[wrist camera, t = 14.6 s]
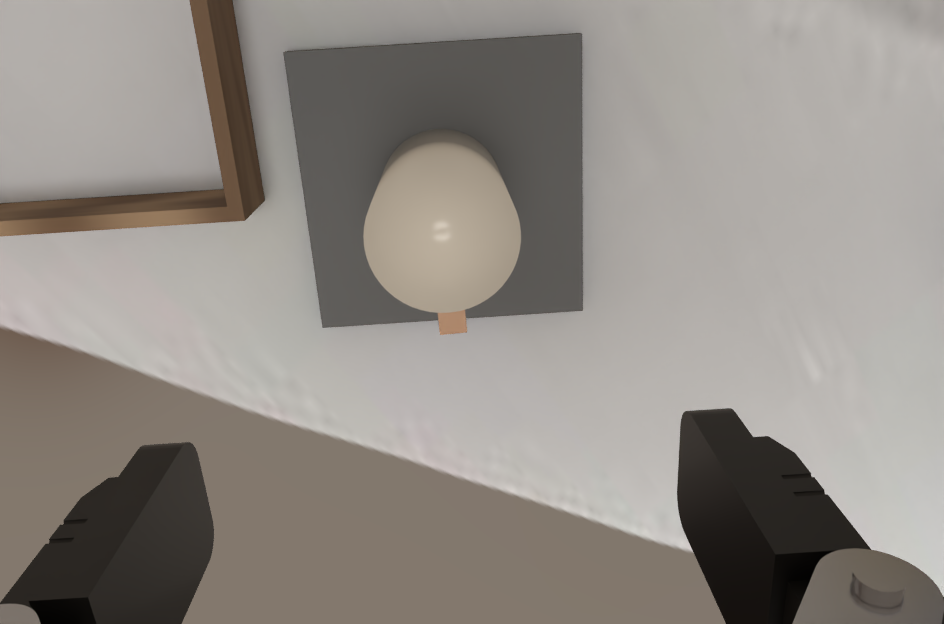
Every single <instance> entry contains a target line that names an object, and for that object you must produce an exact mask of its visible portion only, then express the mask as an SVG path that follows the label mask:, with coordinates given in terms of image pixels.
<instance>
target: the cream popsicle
mask: <svg viewBox="0 0 944 624" xmlns="http://www.w3.org/2000/svg"><path fill="white" fill-rule="evenodd" d="M363 238H364V249H365V253H366V257H367V260H368V263H369V266H370V268H371V270H372V272H373V274H374V275H375V277H376V278H377V280H378V281H379V283H380V284H381V285H382V286H383V287H384V288H385V289H386V290H387V291H388V292H389V293H390V294H391V295H392V296H394V297H395V298H396V299H398V300H400V301H401V302H403V303H405V304H407V305H409V306H411V307H413V308H416V309H419V310H423V311H428V312H435V313H438V321H439V330H440V335H444V334H454V333H464V332H467V325H466V315H465V309H469V308H471V307H474V306H476V305H478V304H480V303H482V302H484V301H485V300H487V299H488V298H490V297H491V296H492V295H494V294H495V293H496V292H497V291H498V290H499V289H500V288H501V287H502V286H503V285H504V283H505V282H506V281H507V279H508V278H509V276H510V275H511V273H512V271H513V269H514V267H515V265H516V262H517V259H518V255H519V252H520V245H521V229H520V222H519V218H518V214H517V211H516V209H515V207H514V204H513V202H512V200H511V197H510V195H509V193H508V190H507V188H506V186H505V183H504V181H503V179H502V176H501V174H500V172H499V169H498V167H497V165H496V162H495V161H494V159H493V157H492V155H491V154H490V153H489V152H488V150H487V149H486V148H485V147H484V146H483V145H482V144H481V143H479V142H478V141H477V140H475V139H474V138H472V137H470V136H469V135H467V134H464V133H462V132H459V131H455V130H450V129H433V130H427V131H424V132H420V133H418V134H416V135H414V136H412V137H410V138H408V139H407V140H405V141H404V142H403V143H402V144H401V145H399V146H398V147H397V149H396V150H395V151H394V152H393V153H392V155H391V156H390V158H389V160H388V162H387V164H386V166H385V168H384V171H383V173H382V176H381V179H380V181H379V184H378V186H377V189H376V191H375V194H374V196H373V199H372V202H371V204H370V207H369V210H368V213H367V215H366V219H365V224H364V235H363Z"/></svg>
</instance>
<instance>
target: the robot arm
mask: <svg viewBox="0 0 944 624" xmlns="http://www.w3.org/2000/svg"><path fill="white" fill-rule="evenodd" d="M677 499H678V509H679V515H680V520H681V524H682V527H683V530H684V532H685V534H686V537H687V539H688V541H689V543H690V545H691V548H692V550H693V552H694V554H695V556H696V559H697V561H698V563H699V565H700V567H701V569H702V572H703V574H704V576H705V578H706V581H707V583H708V585H709V587H710V589H711V592H712V594H713V596H714V598H715V600H716V603H717V605H718V607H719V609H720V611H721V613H722V616H723V618H724V620H725V622H726V624H944V597H943V595H942V593H941V592H940V590H939V588H938V587H937V585H936V584H935V583H934V582H933V580H932V579H930V578H929V577H928V576H927V575H926V574H925V573H924V572H922V571H921V570H920V569H918V568H917V567H915V566H913V565H912V564H910V563H908V562H906V561H904V560H902V559H900V558H898V557H895V556H892V555H889V554H886V553H883V552H879V551H874V550H871V549H870V547H869V546H868V545H867V544H866V542H865V541H864V540H863V539H862V537H861V536H860V535H859V534H858V532H857V531H856V530H855V528H854V527H853V526H852V525H851V523H850V522H849V521H848V520H847V518H846V517H845V516H844V515H843V513H842V512H841V511H840V509H839V508H838V507H837V506H836V504H835V503H834V502H833V501H832V499H831V498H830V497H829V496H828V495H825V493H824V489H823V488H822V487H821V485H820V484H819V483H818V482H817V480H816V479H815V478H814V477H811V473H810V472H809V470H808V469H807V468H806V466H805V465H804V464H803V463H802V461H801V460H800V459H799V458H798V456H797V455H796V454H795V453H794V452H792V451H791V450H789V449H788V448H786V447H784V446H783V445H781V444H780V443H778V442H776V441H775V440H773V439H772V438H770V437H768V436H765V437H753V436H752V435H751V433H750V432H749V431H748V429H747V428H746V427H745V425H744V424H743V422H742V421H741V420H740V418H739V417H738V415H737V414H736V413H735V411H734V410H732V409H730V408H727V409H712V410H696V411H685V412H684V413H683V415H682V419H681V427H680V447H679V467H678V487H677ZM213 539H214V528H213V520H212V515H211V511H210V506H209V502H208V497H207V493H206V488H205V484H204V480H203V475H202V471H201V466H200V462H199V458H198V454H197V451H196V448H195V447H194V445H193V444H191V443H190V442H185V443H170V444H154V445H144V446H141V447H140V448H139V449H138V451H137V452H136V453H135V455H134V456H133V457H132V459H131V460H130V461H129V463H128V464H127V466H126V467H125V469H124V470H123V471H122V473H121V474H120V475H119V477H115V478H108V479H106V480H105V481H104V482H102V483H101V484H100V485H98V486H97V487H95V488H94V489H93V490H91V491H90V492H89V493H87V494H86V495H84V496H83V497H82V498H81V499H80V500H79V501H78V502H77V504H76V505H75V506H74V508H73V509H72V510H71V512H70V513H69V514H68V516H67V517H66V518H65V519H64V524H63V525H60V526H59V527H58V529H57V530H56V531H55V532H54V534H53V535H52V536H51V538H50V539H49V540H50V542H49V544H45V545H44V547H43V548H42V549H41V550H40V552H39V553H38V555H37V556H36V557H35V558H34V560H33V561H32V562H31V563H30V565H29V566H28V567H27V569H26V570H25V571H24V573H23V574H22V575H21V577H20V578H19V579H18V581H17V582H16V583H15V584H14V586H13V587H12V588H11V589H10V591H9V592H8V594H7V595H6V596H5V597H4V599H3V600H2V601H1V603H0V624H182V621H183V619H184V617H185V615H186V612H187V610H188V608H189V606H190V604H191V601H192V599H193V597H194V595H195V592H196V590H197V588H198V586H199V583H200V581H201V579H202V577H203V574H204V572H205V570H206V568H207V565H208V563H209V561H210V558H211V554H212V549H213V541H214V540H213Z"/></svg>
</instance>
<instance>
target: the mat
mask: <svg viewBox="0 0 944 624" xmlns="http://www.w3.org/2000/svg"><path fill="white" fill-rule="evenodd" d="M283 53H284V60H285V67H286V74H287V81H288V88H289V95H290V102H291V109H292V116H293V123H294V130H295V137H296V144H297V151H298V158H299V165H300V172H301V179H302V186H303V193H304V200H305V207H306V214H307V221H308V228H309V235H310V242H311V249H312V256H313V263H314V270H315V277H316V284H317V291H318V298H319V305H320V312H321V319H322V326H323V328H327V327H342V326H357V325H372V324H387V323H403V322H418V321H433V320H438V313H435V312H428V311H423V310H419V309H416V308H413V307H411V306H409V305H407V304H405V303H403V302H401V301H400V300H398V299H396V298H395V297H394V296H392V295H391V294H390V293H389V292H388V291H387V290H386V289H385V288H384V287H383V286H382V285H381V284H380V283H379V281H378V280H377V278H376V277H375V275H374V274H373V272H372V270H371V268H370V266H369V263H368V260H367V257H366V253H365V249H364V238H363V235H364V224H365V219H366V215H367V213H368V210H369V207H370V204H371V202H372V199H373V196H374V194H375V191H376V189H377V186H378V184H379V181H380V179H381V176H382V173H383V171H384V168H385V166H386V164H387V162H388V160H389V158H390V156H391V155H392V153H393V152H394V151H395V150H396V149H397V147H398V146H399V145H401V144H402V143H403V142H404V141H405V140H407V139H408V138H410V137H412V136H414V135H416V134H418V133H420V132H424V131H427V130H433V129H450V130H455V131H459V132H462V133H464V134H467V135H469V136H470V137H472V138H474V139H475V140H477V141H478V142H479V143H481V144H482V145H483V146H484V147H485V148H486V149H487V150H488V152H489V153H490V154H491V155H492V157H493V159H494V161H495V162H496V165H497V167H498V169H499V172H500V174H501V176H502V179H503V181H504V183H505V186H506V188H507V190H508V193H509V195H510V197H511V200H512V202H513V204H514V207H515V209H516V211H517V214H518V218H519V222H520V229H521V245H520V252H519V255H518V259H517V262H516V265H515V267H514V269H513V271H512V273H511V275H510V276H509V278H508V279H507V281H506V282H505V283H504V285H503V286H502V287H501V288H500V289H499V290H498V291H497V292H496V293H495V294H494V295H492V296H491V297H490V298H488V299H487V300H485V301H484V302H482V303H480V304H478V305H476V306H474V307H471V308H469V309H465V315H466V318H479V317H494V316H509V315H524V314H539V313H555V312H570V311H583V254H582V34H580V33H575V34H559V35H543V36H527V37H511V38H494V39H478V40H462V41H446V42H430V43H414V44H398V45H381V46H365V47H349V48H333V49H317V50H301V51H287V52H283Z"/></svg>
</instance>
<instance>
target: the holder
mask: <svg viewBox="0 0 944 624" xmlns="http://www.w3.org/2000/svg"><path fill="white" fill-rule="evenodd" d="M190 5H191V11H192V16H193V22H194V27H195V33H196V38H197V44H198V49H199V55H200V60H201V66H202V71H203V77H204V82H205V88H206V93H207V99H208V104H209V110H210V115H211V121H212V126H213V132H214V137H215V143H216V148H217V154H218V159H219V165H220V170H221V176H222V181H223V187H224V189H221V190H206V191H190V192H174V193H159V194H143V195H127V196H112V197H96V198H80V199H65V200H49V201H33V202H18V203H2V204H0V236H13V235H28V234H44V233H60V232H75V231H91V230H106V229H122V228H137V227H153V226H168V225H184V224H200V223H215V222H231V221H245V220H246V219H247V218H248V217H249V216H250V215H251V214H252V213H253V212H254V211H255V210H256V209H257V208H258V207H259V206H260V205H261V204H262V203H263V202H264V201H265V199H264V193H263V187H262V180H261V174H260V168H259V162H258V156H257V150H256V143H255V137H254V131H253V125H252V119H251V113H250V107H249V100H248V94H247V88H246V82H245V76H244V70H243V64H242V57H241V51H240V45H239V39H238V33H237V27H236V20H235V14H234V8H233V2H232V0H190Z"/></svg>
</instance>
